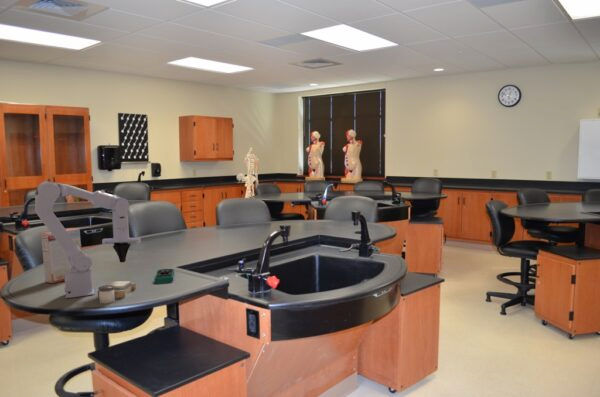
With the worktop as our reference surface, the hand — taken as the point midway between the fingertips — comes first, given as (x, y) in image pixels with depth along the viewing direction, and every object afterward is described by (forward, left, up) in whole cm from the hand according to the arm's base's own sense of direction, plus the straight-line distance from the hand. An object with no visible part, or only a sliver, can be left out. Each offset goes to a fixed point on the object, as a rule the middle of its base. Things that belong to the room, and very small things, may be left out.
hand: (122, 261), depth 183 cm
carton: (-3, -9, -10) cm, 14 cm away
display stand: (-2, -9, -10) cm, 14 cm away
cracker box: (-22, +25, -10) cm, 35 cm away
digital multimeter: (+16, +5, -11) cm, 20 cm away
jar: (-7, -18, -10) cm, 21 cm away
